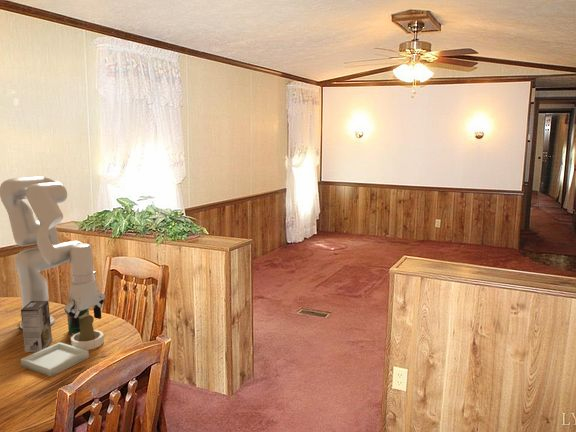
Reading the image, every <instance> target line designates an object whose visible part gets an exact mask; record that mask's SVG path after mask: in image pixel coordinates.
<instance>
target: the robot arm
mask: <svg viewBox="0 0 576 432" xmlns="http://www.w3.org/2000/svg"><path fill="white" fill-rule="evenodd" d="M26 199H27V201H28V204H27V202H25V201H24V200H26ZM67 199H68V191H67V188H66V187H65V185H64V184H63V183H61V182H60V181H58V180H55V179H52V178H49V177H47V176H43V175H38V176H26V177H25V176H24V177H14V178H13V177H12V178H8V179H5V180H3V181H2V183H1V184H0V201H1V203H2V205H3V207H4V208H5V210H6V212H7V216H8V220H9V223H10V228H11V232H12V236H13V239H14V241H15V244H16V245H18V246H19V247H26V246H27V247H28V246H33V245H37V247H31V248H27V249H24V250H21V251H19V252H18V253H17V254H16V256H15V257H14V263H15V267H16V270H17V275H18V278H19V285H20V286H19V287H20V293H21V294H20V297H21V306H22V309H23V308H24V307H25V306H26V305H27V304H28V303H30V302H31V301H48V303H49V304H50V302H49V291H48V290H49V289H48V282H47V281H48V280H47V279H46V277H44V275H43V274H41V272H42V271H45V270H49V269H53V268H56V267H58V266H60V265H63V264H67V263H70V271H71V272H70V273H71V282H72V283H70V284H69V292H68V293H69V295H68V296H69V297H68V298H69V299H68V300H69V301H68V302H69V304H68V303H67V304H68V305H67V304H66V306H65V307H64V308H63V311H64V312H65V314H66V315H69V316H70V317H71V319H72V326H73V327H75V328H79V327H80V323H79V317H77V316H78V314H79V312H80V311H82V310H85V309H88V308H89V309H90V308H93V318H94V319H99V320H101V319H102V308H103V304H104V302H105V298H106V294H104V293H100V291H99V290H100V289H99V287H98V282H97V279H96V278H95V275H97V271H95V268H94V256H93V247H92V245H91V244H89V243H83V242H81V241H79V240H71V241H64V242H61V241H60V238H59V233H58V230H57V226H58V225H59V224H60V223H61V222H62V221H63V220H64V213H63V212H62V210H61V208H60V206H59V204H61V203H64V202H65V201H66V200H67ZM29 204H30V206H29ZM34 215H35V217H36V218H35V217H34ZM36 219H37V220H36ZM70 309H71V310H72V311H71V310H70ZM75 311H76V312H75ZM49 313H50V311H49ZM74 313H75V314H74ZM50 314H51V313H50ZM19 317H21V318H22V316H21V313H20V314H19ZM54 323H55V318H54V317H53V316H51V315H50V324H51V326H52V325H53V324H54ZM19 329H21V330H23V326H22V321H21V322H19Z"/></svg>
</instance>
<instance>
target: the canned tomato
mask: <svg viewBox="0 0 576 432" xmlns="http://www.w3.org/2000/svg"><path fill="white" fill-rule="evenodd" d="M68 304H69V303H67V304H66V306H67V305H68ZM89 309H90V308H88V309H85V310H82V311H80V312H79V314H78V316H77V317H79V318H80V317H81V316H83V315H90V312H89V311H90V310H89ZM70 310H71V309H70ZM71 311H72V310H71ZM75 312H76V311H75ZM74 314H75V313H74ZM66 315H67V314H66ZM67 328H68V333H69V334H70V335H74V334H76V333H79V332H80V327H79V328H75V327H73V326H72V319H71V317H70V316H69V315H67Z"/></svg>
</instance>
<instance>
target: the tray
mask: <svg viewBox="0 0 576 432" xmlns="http://www.w3.org/2000/svg"><path fill="white" fill-rule="evenodd" d="M89 352H90V351H89V350H84V349H81V348H77V347H74V346H71V344H67V343H65V342H60V341H59V342H56V343H54V344H52V345H50V346H47V347H46V348H45V349H43V350H41V351H38V352H34V353H32V354H30V355H27V356H25V357H22V358H21V359H20V366H21V367H23V368H25V369H28V370H31V371H35V372H37V373H40V374H42V375H45V376H47V377H53V376H55V375H57V374H60V373H62V372H63V371H65V370H67V369H69V368H71V367H73V366H75V365H77V364H79V363H81V362H83V361H85V360H88V359H89V358H90V353H89Z"/></svg>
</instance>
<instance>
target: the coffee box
mask: <svg viewBox="0 0 576 432" xmlns="http://www.w3.org/2000/svg"><path fill="white" fill-rule="evenodd" d="M48 301H49V300H48ZM48 301H31V302H30V303H28V304H27V305H26V306H25V307H24V308H23V307H22V308H21V309H20V314H21V316H22V317H21V316H20V317H21V322H22V326H23V329H22V333H23V334H22V335H23V345H24V352H25V353H31V352H32V353H33V352H34V353H36V352H38V351H41V350H43V349H45V348H47V347H49V345H50V343H51V342H52V341H53V337H52V325H51V324H50V316H51V315H50V314H51V313H49V312H50V302H49V303H48Z"/></svg>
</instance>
